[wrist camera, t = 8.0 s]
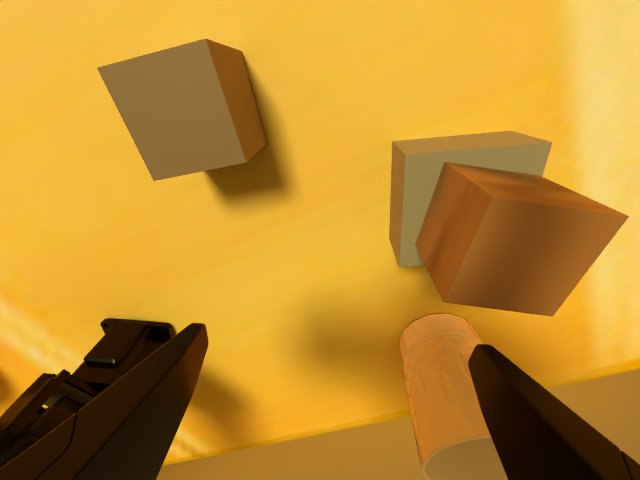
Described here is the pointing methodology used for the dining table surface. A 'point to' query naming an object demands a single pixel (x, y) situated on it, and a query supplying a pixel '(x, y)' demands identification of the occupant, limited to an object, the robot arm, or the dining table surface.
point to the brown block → (187, 107)
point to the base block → (425, 167)
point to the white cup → (446, 401)
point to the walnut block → (510, 239)
